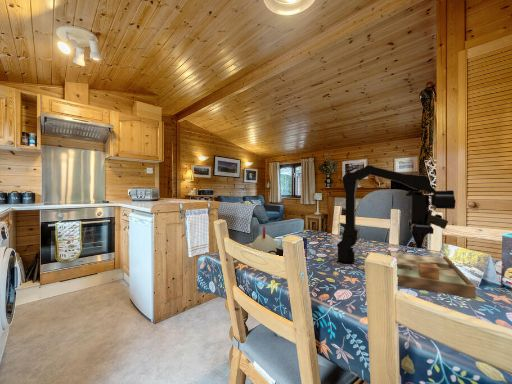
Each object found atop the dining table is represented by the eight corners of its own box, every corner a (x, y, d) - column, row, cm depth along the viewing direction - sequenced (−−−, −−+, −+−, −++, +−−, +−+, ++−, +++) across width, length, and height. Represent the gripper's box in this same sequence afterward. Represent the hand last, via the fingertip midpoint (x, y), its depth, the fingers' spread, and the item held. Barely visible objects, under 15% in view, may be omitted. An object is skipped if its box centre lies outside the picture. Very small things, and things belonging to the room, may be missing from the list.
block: (420, 277, 79) (420, 266, 79) (418, 273, 83) (418, 262, 83) (439, 280, 77) (439, 268, 77) (435, 275, 81) (435, 264, 81)
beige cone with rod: (277, 255, 115) (277, 225, 115) (280, 264, 101) (280, 230, 101) (249, 255, 115) (249, 225, 115) (248, 264, 102) (248, 230, 101)
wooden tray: (390, 284, 80) (390, 274, 80) (387, 257, 111) (387, 250, 111) (475, 298, 70) (475, 286, 69) (446, 264, 100) (446, 256, 100)
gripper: (452, 210, 78) (451, 257, 78) (440, 206, 94) (440, 245, 94) (412, 209, 83) (412, 252, 83) (408, 205, 100) (407, 242, 100)
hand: (419, 247), depth 90 cm, fingers closed
